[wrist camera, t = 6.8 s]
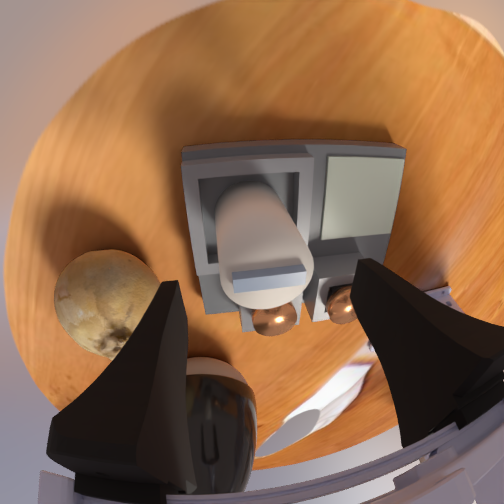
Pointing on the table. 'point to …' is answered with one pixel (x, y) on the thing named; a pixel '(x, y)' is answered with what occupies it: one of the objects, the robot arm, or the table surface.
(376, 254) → the housing
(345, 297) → the plunger
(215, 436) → the pump dispenser
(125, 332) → the onion
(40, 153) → the table surface
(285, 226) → the disc
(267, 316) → the plunger
